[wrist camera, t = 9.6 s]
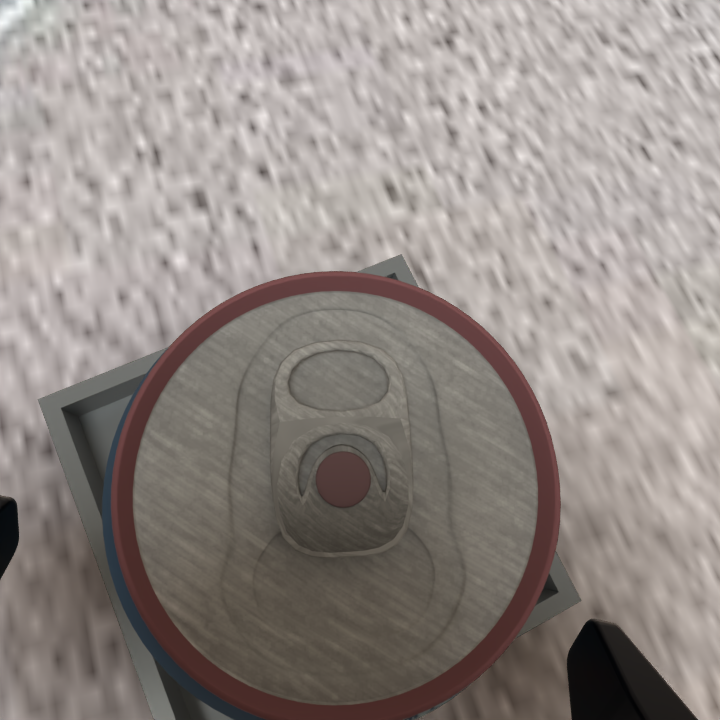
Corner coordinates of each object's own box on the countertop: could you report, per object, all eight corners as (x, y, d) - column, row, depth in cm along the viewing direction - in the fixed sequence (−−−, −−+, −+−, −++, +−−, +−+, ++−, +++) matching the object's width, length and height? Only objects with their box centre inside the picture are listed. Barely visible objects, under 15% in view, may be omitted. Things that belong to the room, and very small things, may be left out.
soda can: (429, 617, 19) (649, 764, 7) (198, 633, 18) (28, 827, 6) (413, 397, 20) (568, 230, 9) (202, 402, 20) (76, 227, 8)
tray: (202, 791, 17) (191, 823, 15) (62, 412, 20) (37, 399, 18) (553, 593, 20) (581, 600, 18) (392, 277, 22) (401, 254, 20)
